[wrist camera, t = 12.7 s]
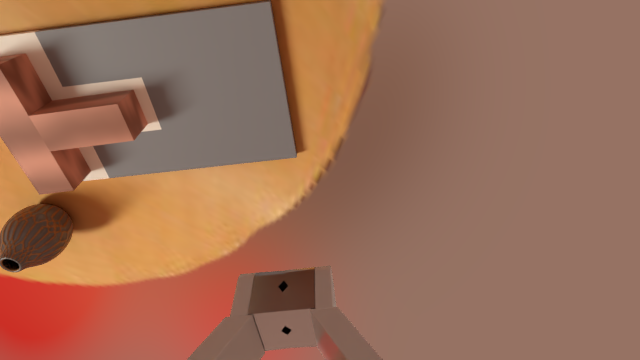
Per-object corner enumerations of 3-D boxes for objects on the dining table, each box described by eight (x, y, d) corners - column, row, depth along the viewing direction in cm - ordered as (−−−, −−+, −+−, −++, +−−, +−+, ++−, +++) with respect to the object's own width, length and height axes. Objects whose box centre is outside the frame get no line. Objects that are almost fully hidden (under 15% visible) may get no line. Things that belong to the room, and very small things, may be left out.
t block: (-13, 58, 37) (-44, 71, 34) (113, 40, 37) (93, 51, 33) (59, 175, 45) (39, 194, 42) (164, 162, 44) (152, 180, 41)
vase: (86, 207, 49) (46, 255, 42) (77, 242, 52) (39, 292, 45) (28, 187, 47) (-24, 234, 40) (23, 224, 50) (-26, 274, 43)
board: (-42, 40, 37) (-50, 42, 36) (270, 0, 36) (269, 1, 35) (47, 180, 47) (42, 185, 46) (296, 153, 45) (296, 157, 44)
